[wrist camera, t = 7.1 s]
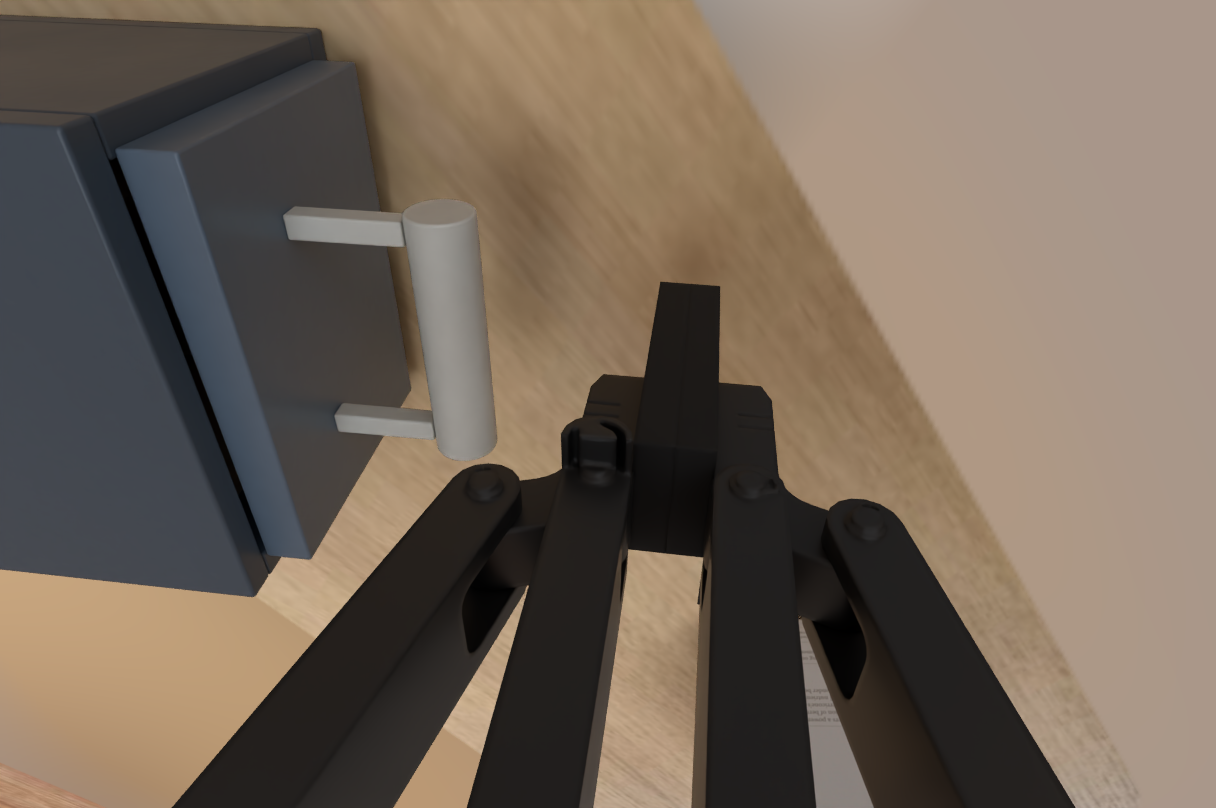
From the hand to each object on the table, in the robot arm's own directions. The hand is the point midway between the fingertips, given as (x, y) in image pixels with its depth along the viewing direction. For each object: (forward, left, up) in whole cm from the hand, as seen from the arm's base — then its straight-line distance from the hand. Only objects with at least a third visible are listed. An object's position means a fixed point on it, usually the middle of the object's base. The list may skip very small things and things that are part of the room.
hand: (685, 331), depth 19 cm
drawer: (+13, -4, -3) cm, 14 cm away
